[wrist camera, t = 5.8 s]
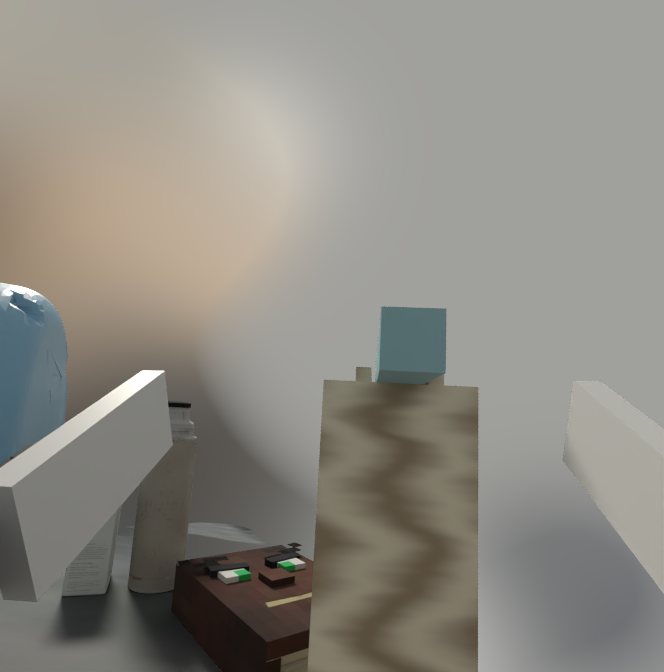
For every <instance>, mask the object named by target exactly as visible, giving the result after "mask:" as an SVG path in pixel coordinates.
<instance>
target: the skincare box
mask: <svg viewBox="0 0 664 672" xmlns="http://www.w3.org/2000/svg"><path fill="white" fill-rule="evenodd" d="M120 511H121V506H120V507H119V508H118V509H117V510H116V512H115V513H114V514H113V515H112V516H111V517H110V518H109V520H108V521H107V522H106V523H105V524H104V525H103V527H102V528H101V529H100V530H99V531H98V532H97V534H96V535H95V536H94V537H93V538H92V539H91V540H90V542H89V543H88V544H87V545H86V546H85V547H84V549H83V550H82V551H81V552H80V553H79V554H78V556H77V557H76V558H75V559H74V560H73V561H72V562H71V564H70V565H69V566H68V567H67V568H66V572H65V578H64V584H63V590H62V596H77V595H96V594H105V593H106V591H107V588H108V585H109V581H110V577H111V573H112V566H113V560H114V553H115V546H116V539H117V533H118V526H119V518H120Z"/></svg>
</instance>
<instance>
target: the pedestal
mask: <svg viewBox="0 0 664 672" xmlns="http://www.w3.org/2000/svg"><path fill="white" fill-rule="evenodd" d="M318 477H319V478H318V494H317V511H316V530H315V548H314V565H313V582H312V600H311V618H310V636H309V653H308V671H307V672H478V387H462V386H444V374H443V375H441V376H439V377H437V378H435V379H433V380H431V381H429V382H427V383H425V384H423V385H421V384H400V383H380V382H371V368H369V367H356V381H337V380H324V387H323V405H322V423H321V441H320V458H319V476H318Z"/></svg>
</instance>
